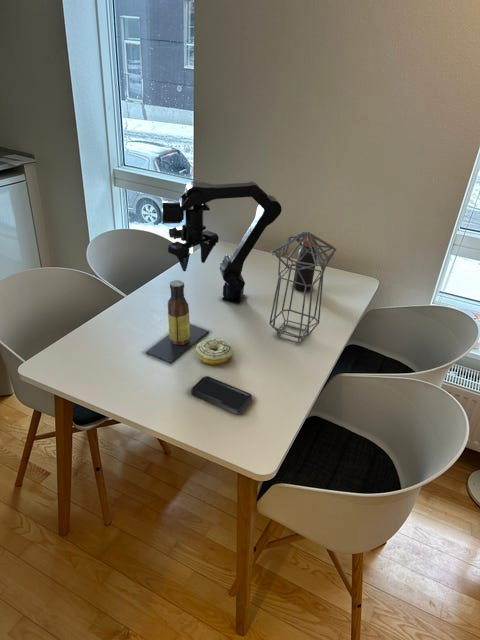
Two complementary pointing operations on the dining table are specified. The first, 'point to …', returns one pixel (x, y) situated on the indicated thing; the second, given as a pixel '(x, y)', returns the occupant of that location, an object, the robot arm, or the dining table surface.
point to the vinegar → (305, 273)
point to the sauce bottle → (178, 314)
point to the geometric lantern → (315, 244)
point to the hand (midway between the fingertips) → (193, 266)
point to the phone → (221, 394)
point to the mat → (172, 351)
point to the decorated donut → (214, 351)
